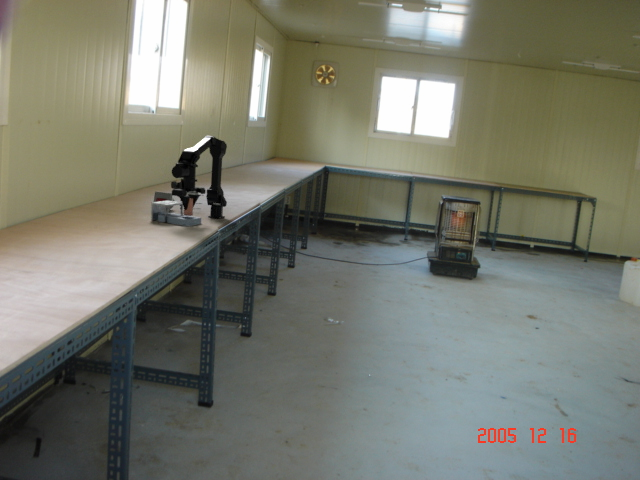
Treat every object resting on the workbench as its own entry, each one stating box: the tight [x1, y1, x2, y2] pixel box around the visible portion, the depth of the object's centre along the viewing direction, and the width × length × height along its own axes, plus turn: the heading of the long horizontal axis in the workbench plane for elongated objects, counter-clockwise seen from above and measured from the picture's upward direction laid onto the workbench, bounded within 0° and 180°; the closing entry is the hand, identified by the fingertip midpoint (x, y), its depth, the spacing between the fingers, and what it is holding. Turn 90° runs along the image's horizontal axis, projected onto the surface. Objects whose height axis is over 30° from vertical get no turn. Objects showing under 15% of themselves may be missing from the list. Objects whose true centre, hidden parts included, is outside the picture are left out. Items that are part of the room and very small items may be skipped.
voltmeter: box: [153, 191, 204, 213], centre depth 317 cm, size 27×11×10 cm, turn 108°
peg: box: [183, 198, 194, 216], centre depth 279 cm, size 4×4×8 cm
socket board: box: [157, 212, 202, 227], centre depth 283 cm, size 10×18×3 cm, turn 64°
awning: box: [150, 200, 184, 224], centre depth 285 cm, size 13×9×9 cm
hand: (188, 209), depth 280 cm, fingers closed on peg, 4 cm apart
